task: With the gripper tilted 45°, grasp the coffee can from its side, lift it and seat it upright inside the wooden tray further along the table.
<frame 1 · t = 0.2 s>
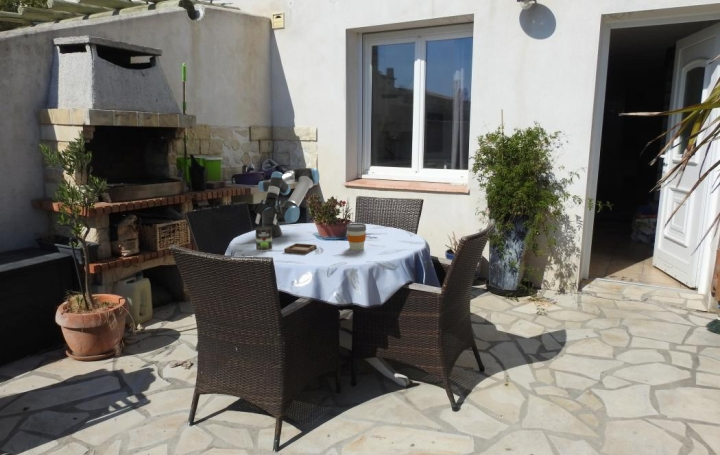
hand: (265, 223, 343), 15 cm above the table, tool tilted 35°, fingers open, 13 cm apart
reusable coffee cup: (356, 248, 337), on the table
wooden tray: (300, 250, 334), on the table
coffee can: (264, 249, 339), on the table
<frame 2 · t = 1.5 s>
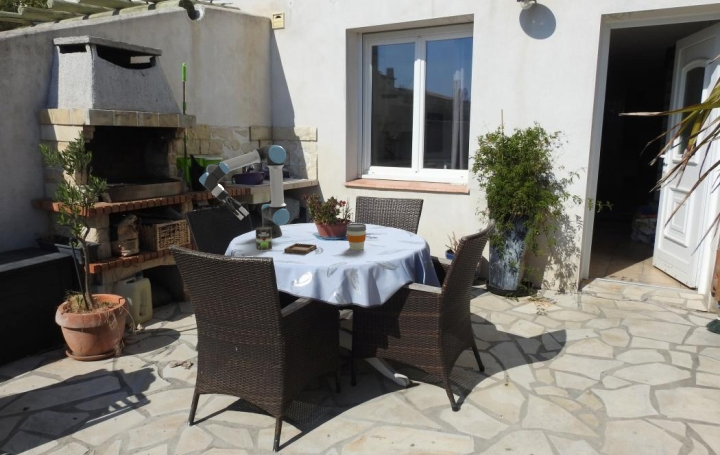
hand: (245, 216, 336), 21 cm above the table, tool tilted 45°, fingers open, 13 cm apart
nothing on the table moved.
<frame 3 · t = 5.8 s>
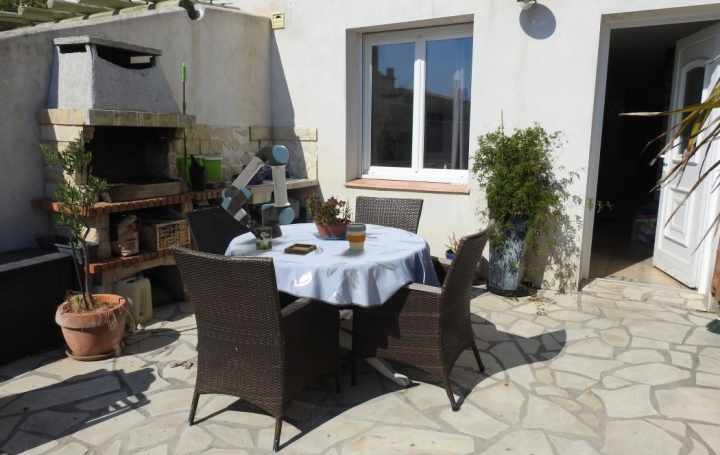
hand: (268, 240, 337), 5 cm above the table, tool tilted 45°, fingers closed on coffee can, 10 cm apart
coffee can: (264, 249, 339), on the table, touching gripper
everything else where it was.
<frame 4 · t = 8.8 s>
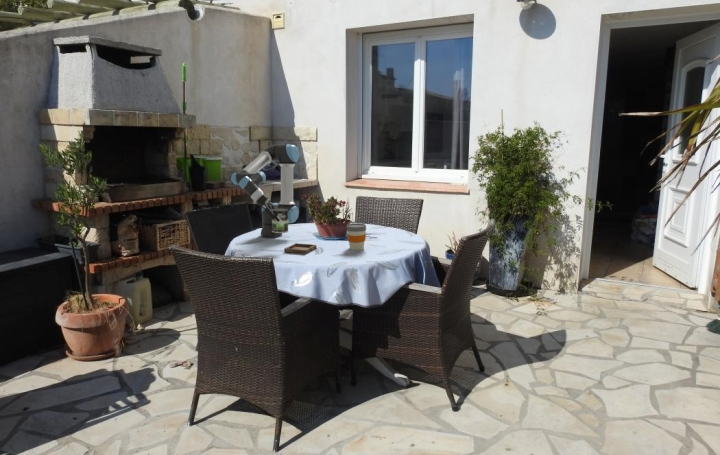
hand: (285, 223, 329), 18 cm above the table, tool tilted 45°, fingers closed on coffee can, 10 cm apart
coffee can: (280, 231, 331), point 13 cm above the table, touching gripper
everything else where it was.
when the fingers open (8 cm above the table, at t = 12.1 s): coffee can drops 1 cm, point 1 cm above the table.
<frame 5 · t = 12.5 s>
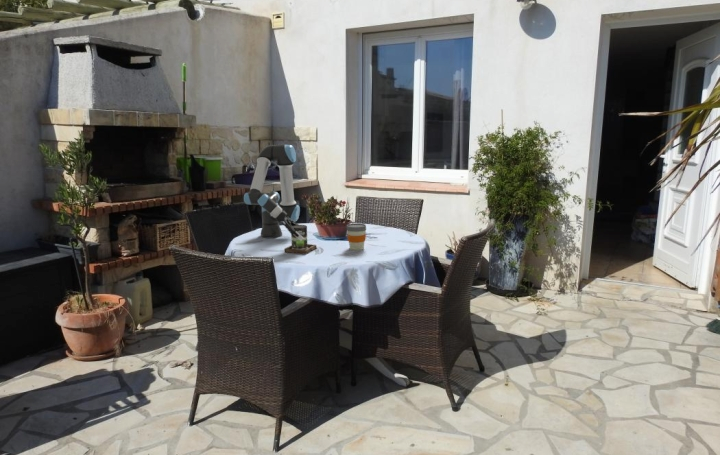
hand: (303, 237, 332), 9 cm above the table, tool tilted 45°, fingers open, 13 cm apart
coffee can: (299, 248, 335), point 1 cm above the table, touching gripper
everything else where it was.
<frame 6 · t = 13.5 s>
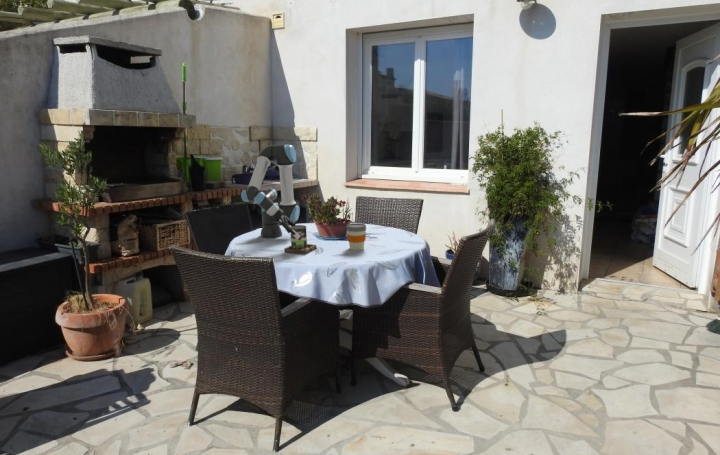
hand: (300, 235, 331), 10 cm above the table, tool tilted 45°, fingers open, 13 cm apart
coffee can: (299, 248, 335), point 1 cm above the table, touching gripper, wooden tray
everything else where it was.
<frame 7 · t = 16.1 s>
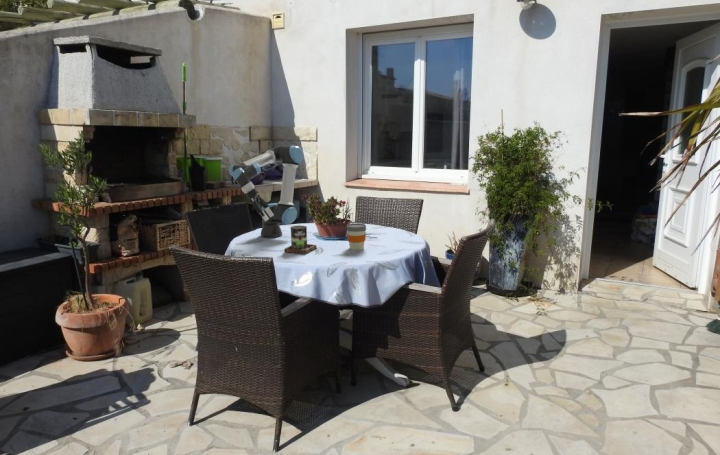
hand: (269, 218, 334), 20 cm above the table, tool tilted 35°, fingers open, 13 cm apart
coffee can: (299, 249, 335), point 1 cm above the table, touching wooden tray
everything else where it was.
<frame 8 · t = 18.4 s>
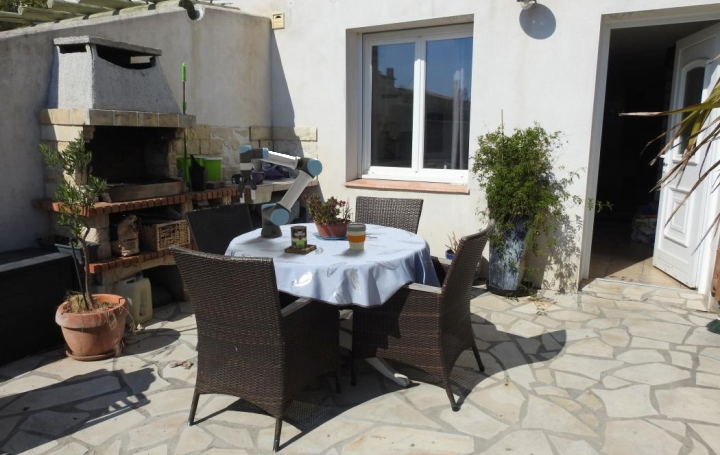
hand: (248, 201, 350), 29 cm above the table, tool pointing down, fingers open, 13 cm apart
nothing on the table moved.
at the end: coffee can 1.8 cm off-centre on the wooden tray, point 0.6 cm above the wooden tray's base; coffee can tilted 0°; the gripper is holding nothing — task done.
